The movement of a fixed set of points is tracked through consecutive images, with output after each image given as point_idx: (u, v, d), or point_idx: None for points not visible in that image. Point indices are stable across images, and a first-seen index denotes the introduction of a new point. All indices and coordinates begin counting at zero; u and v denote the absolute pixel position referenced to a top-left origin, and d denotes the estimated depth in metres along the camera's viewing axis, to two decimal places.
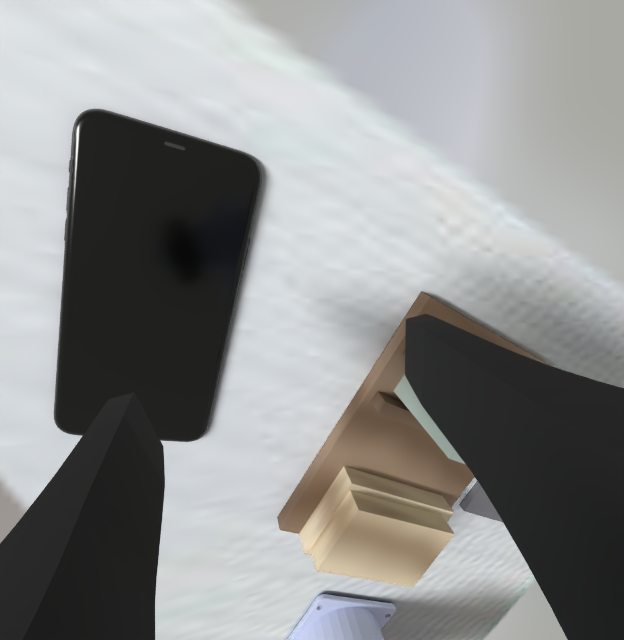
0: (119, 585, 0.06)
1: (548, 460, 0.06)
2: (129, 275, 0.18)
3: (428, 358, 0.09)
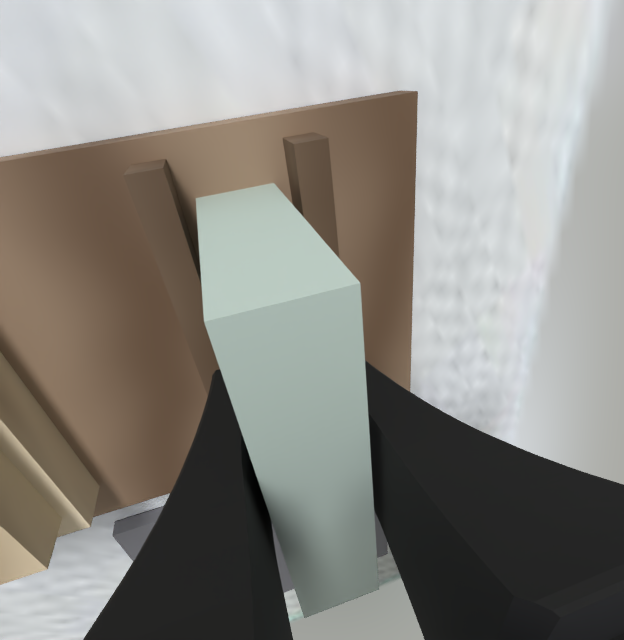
0: (264, 535, 0.07)
1: (409, 509, 0.06)
2: None
3: None
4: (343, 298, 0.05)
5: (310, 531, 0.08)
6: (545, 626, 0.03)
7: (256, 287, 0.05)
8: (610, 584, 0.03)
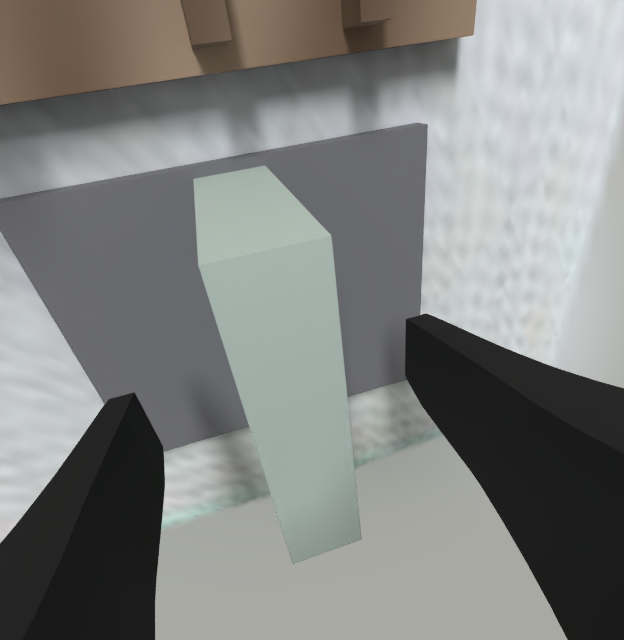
0: (119, 585, 0.06)
1: (548, 460, 0.06)
2: None
3: (428, 358, 0.09)
4: (317, 249, 0.06)
5: (296, 473, 0.08)
6: None
7: (243, 241, 0.06)
8: None
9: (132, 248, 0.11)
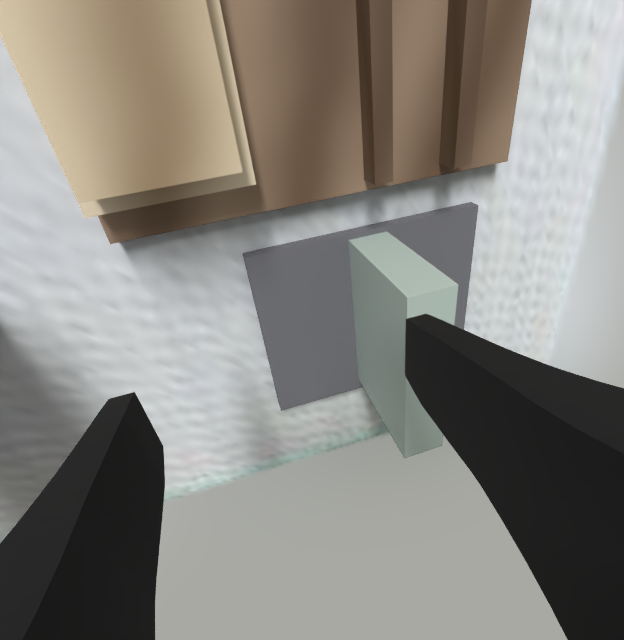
0: (119, 585, 0.06)
1: (548, 460, 0.06)
2: None
3: (428, 358, 0.09)
4: (452, 290, 0.14)
5: None
6: None
7: (418, 286, 0.14)
8: None
9: (309, 279, 0.19)
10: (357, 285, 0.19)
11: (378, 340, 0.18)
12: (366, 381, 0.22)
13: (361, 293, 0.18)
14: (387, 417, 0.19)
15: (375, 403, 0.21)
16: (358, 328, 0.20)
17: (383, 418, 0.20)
